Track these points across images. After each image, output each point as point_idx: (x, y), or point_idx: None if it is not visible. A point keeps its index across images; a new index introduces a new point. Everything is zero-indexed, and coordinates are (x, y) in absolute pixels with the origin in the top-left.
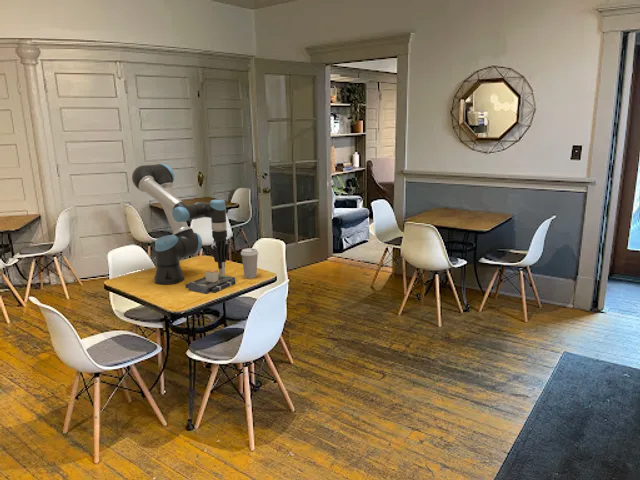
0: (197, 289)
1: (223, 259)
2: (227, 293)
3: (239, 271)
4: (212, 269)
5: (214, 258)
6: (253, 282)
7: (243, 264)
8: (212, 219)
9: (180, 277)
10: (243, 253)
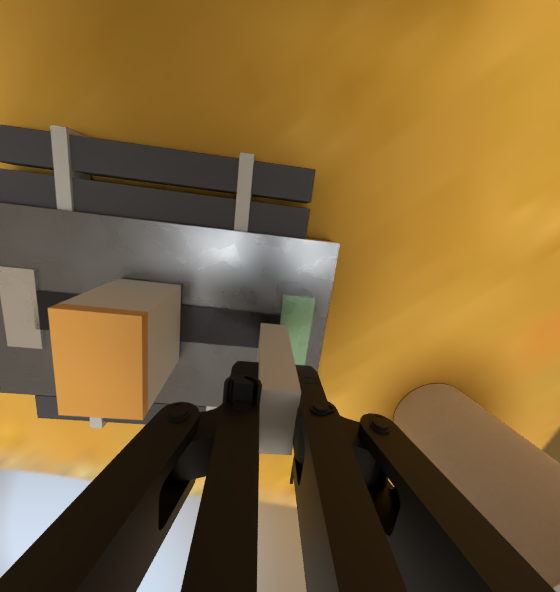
0: None
1: (294, 479)
2: (94, 466)
3: (532, 290)
4: (130, 357)
5: (117, 465)
6: None
7: (457, 478)
8: None
9: None
10: None
